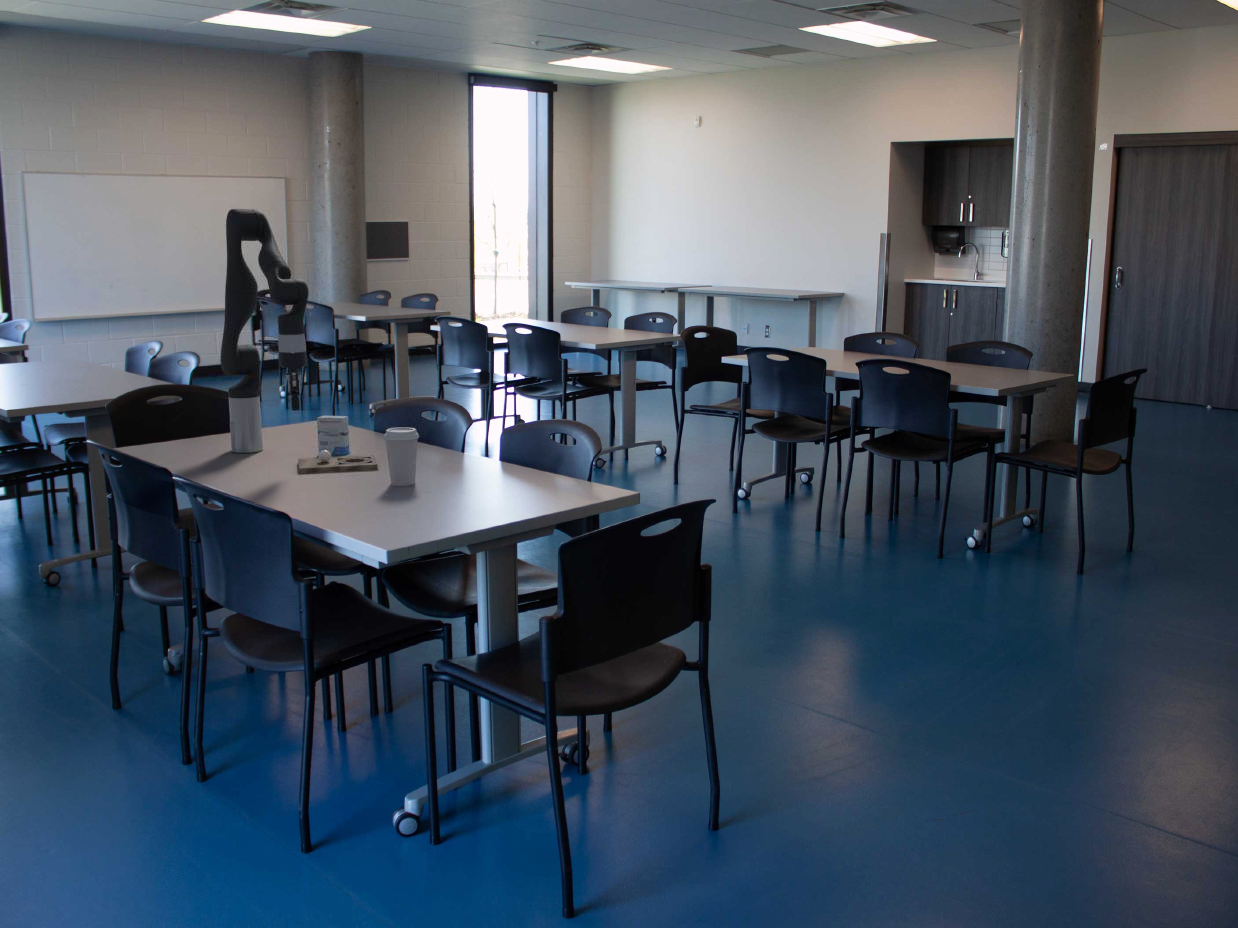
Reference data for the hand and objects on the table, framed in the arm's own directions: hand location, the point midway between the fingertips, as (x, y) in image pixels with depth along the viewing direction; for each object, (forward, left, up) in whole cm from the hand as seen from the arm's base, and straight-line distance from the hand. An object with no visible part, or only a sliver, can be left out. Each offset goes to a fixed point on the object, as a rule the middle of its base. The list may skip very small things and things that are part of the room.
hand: (295, 410), depth 314 cm
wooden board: (+11, 0, -17) cm, 20 cm away
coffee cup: (+27, -28, -17) cm, 43 cm away
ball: (+7, 0, -14) cm, 16 cm away
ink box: (+11, +21, -17) cm, 29 cm away
